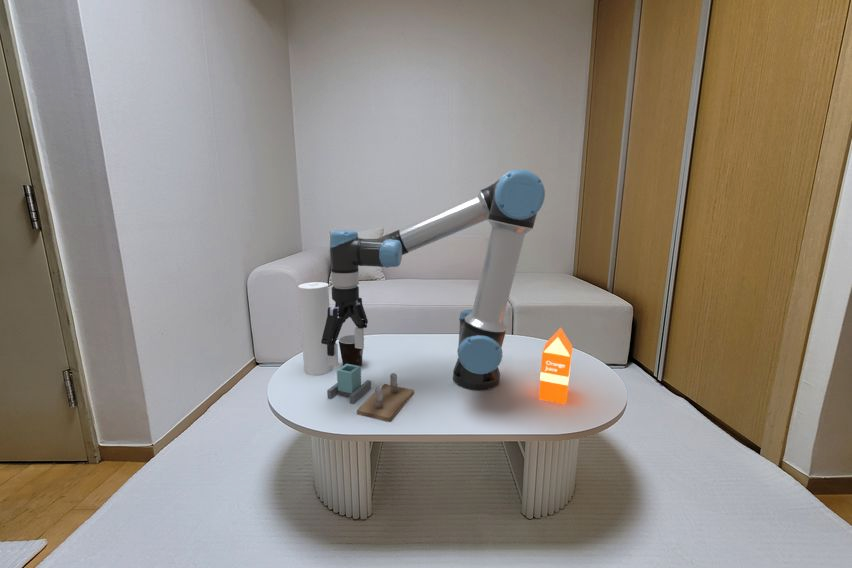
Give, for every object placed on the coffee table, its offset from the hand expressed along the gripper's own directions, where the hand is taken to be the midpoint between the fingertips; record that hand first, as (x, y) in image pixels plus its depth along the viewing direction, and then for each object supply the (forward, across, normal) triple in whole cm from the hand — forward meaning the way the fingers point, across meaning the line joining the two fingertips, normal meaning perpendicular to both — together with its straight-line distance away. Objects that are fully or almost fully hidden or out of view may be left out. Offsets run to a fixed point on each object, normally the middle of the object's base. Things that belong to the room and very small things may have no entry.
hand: (347, 356), depth 110 cm
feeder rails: (+12, 0, 0) cm, 12 cm away
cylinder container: (+12, -10, -18) cm, 24 cm away
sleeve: (+12, 0, 0) cm, 12 cm away
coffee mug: (+12, -15, -9) cm, 22 cm away
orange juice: (+11, -22, +58) cm, 63 cm away
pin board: (+12, +1, +14) cm, 18 cm away
